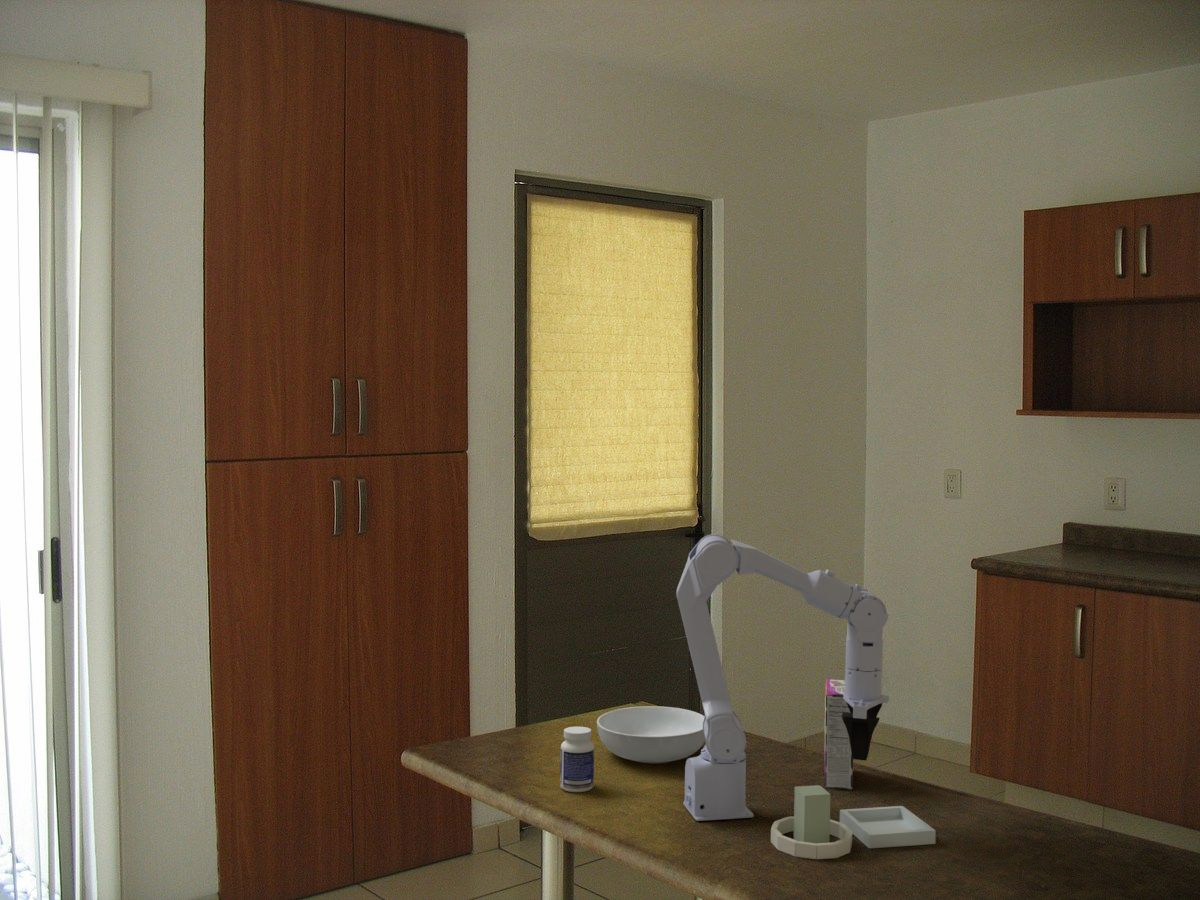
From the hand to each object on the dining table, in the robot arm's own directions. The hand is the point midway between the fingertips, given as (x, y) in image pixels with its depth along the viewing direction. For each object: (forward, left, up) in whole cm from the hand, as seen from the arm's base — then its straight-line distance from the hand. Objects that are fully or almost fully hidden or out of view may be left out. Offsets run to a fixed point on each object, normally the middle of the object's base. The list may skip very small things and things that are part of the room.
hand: (861, 752), depth 178 cm
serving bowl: (-25, +35, -10) cm, 45 cm away
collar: (-12, -10, -10) cm, 19 cm away
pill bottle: (-42, +20, -10) cm, 48 cm away
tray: (+1, -8, -10) cm, 13 cm away
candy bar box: (+4, +17, -10) cm, 20 cm away
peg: (-12, -10, -10) cm, 19 cm away
